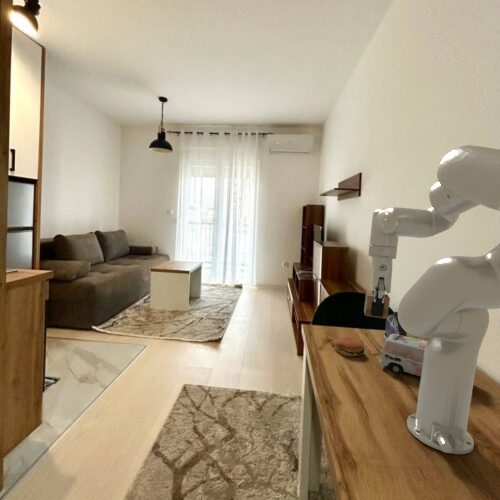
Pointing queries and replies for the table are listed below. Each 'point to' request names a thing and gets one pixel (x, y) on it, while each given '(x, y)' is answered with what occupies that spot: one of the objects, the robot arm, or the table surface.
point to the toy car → (403, 354)
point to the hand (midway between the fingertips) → (375, 312)
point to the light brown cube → (368, 305)
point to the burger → (349, 347)
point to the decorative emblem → (393, 326)
